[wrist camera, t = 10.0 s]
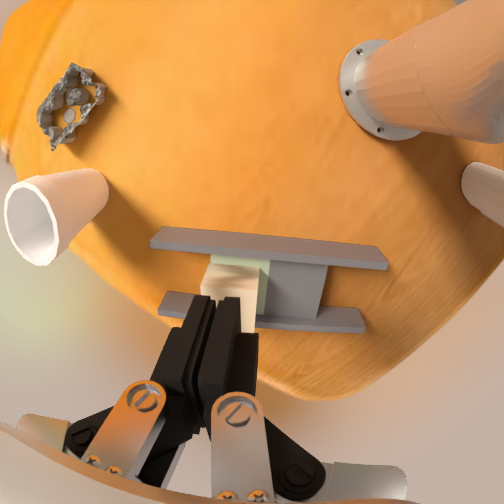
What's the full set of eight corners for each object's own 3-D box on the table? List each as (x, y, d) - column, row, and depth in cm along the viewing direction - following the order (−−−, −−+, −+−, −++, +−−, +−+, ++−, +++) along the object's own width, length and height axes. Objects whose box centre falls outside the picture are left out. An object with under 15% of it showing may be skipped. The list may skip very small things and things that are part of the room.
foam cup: (105, 234, 36) (51, 281, 25) (60, 202, 34) (1, 237, 23) (128, 177, 33) (66, 209, 21) (79, 145, 31) (11, 166, 19)
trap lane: (376, 246, 35) (388, 262, 31) (356, 313, 39) (363, 333, 35) (162, 226, 35) (149, 240, 31) (168, 296, 40) (158, 315, 36)
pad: (270, 242, 35) (270, 253, 33) (264, 301, 39) (263, 314, 37) (215, 237, 36) (210, 248, 33) (214, 296, 40) (210, 309, 37)
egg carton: (69, 150, 31) (50, 156, 28) (46, 116, 29) (27, 119, 25) (115, 95, 28) (98, 94, 24) (89, 61, 26) (71, 57, 22)
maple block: (259, 267, 34) (257, 291, 29) (256, 307, 36) (253, 333, 32) (209, 263, 34) (200, 285, 29) (210, 303, 36) (202, 328, 32)
